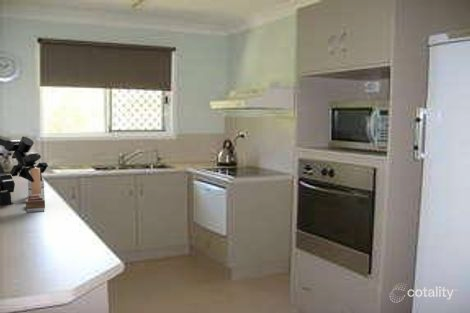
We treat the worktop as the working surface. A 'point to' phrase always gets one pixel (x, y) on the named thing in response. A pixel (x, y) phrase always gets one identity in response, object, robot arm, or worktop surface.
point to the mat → (35, 210)
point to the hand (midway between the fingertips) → (37, 181)
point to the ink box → (36, 194)
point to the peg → (35, 181)
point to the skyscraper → (35, 161)
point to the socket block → (35, 203)
